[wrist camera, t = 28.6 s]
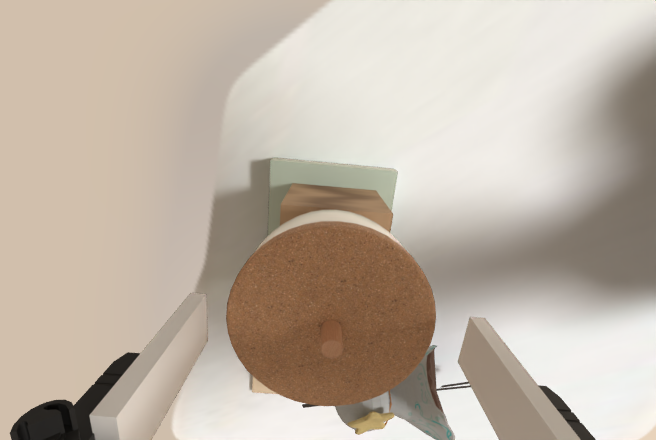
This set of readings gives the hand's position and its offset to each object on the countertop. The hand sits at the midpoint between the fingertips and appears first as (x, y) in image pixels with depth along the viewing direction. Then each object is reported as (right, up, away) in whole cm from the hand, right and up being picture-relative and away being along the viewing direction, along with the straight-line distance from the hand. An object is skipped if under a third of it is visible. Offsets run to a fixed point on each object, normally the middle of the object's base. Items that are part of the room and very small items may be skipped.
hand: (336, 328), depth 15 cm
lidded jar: (0, +2, +8) cm, 8 cm away
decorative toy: (+7, -11, +23) cm, 26 cm away
